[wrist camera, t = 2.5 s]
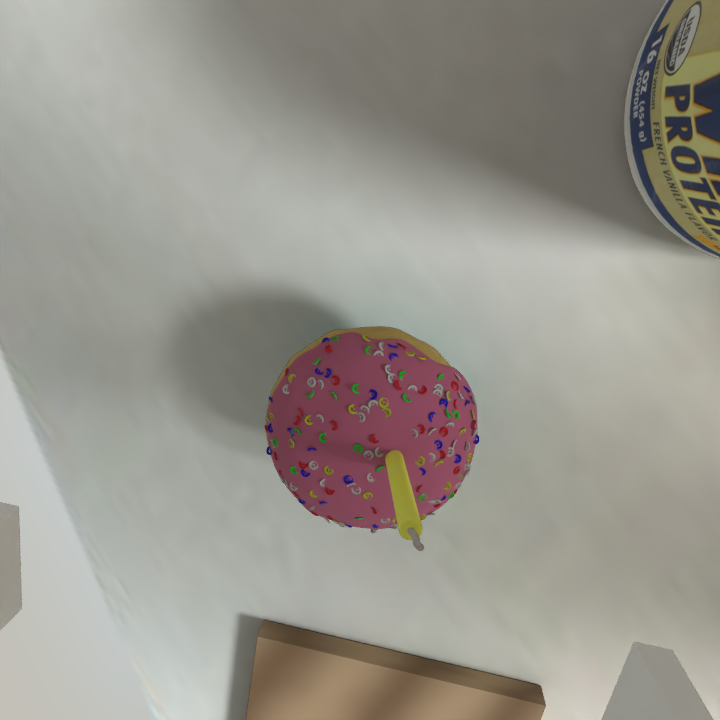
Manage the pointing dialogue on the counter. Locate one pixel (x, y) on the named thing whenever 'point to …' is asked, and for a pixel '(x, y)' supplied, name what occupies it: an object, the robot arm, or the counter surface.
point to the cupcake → (372, 429)
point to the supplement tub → (679, 121)
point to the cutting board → (373, 683)
